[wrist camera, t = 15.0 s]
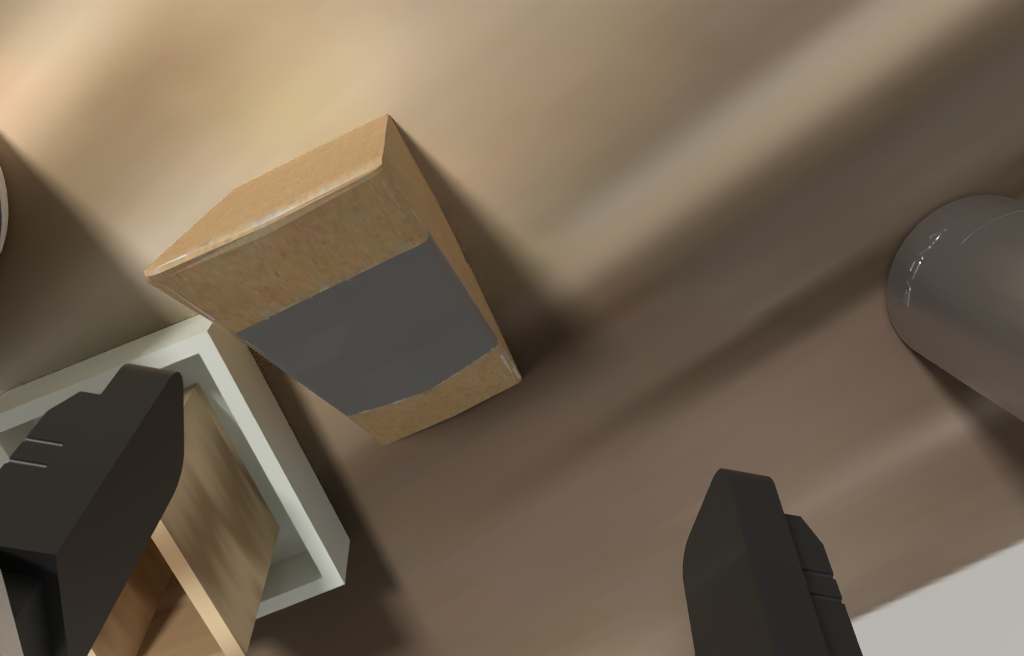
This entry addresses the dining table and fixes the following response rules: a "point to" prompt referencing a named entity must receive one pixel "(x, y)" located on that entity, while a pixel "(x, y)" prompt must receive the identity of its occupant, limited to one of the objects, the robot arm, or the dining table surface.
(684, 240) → the dining table surface
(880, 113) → the dining table surface
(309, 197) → the sandwich container
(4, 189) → the supplement tub
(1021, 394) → the robot arm
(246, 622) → the oak crate
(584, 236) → the dining table surface
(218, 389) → the grey crate
